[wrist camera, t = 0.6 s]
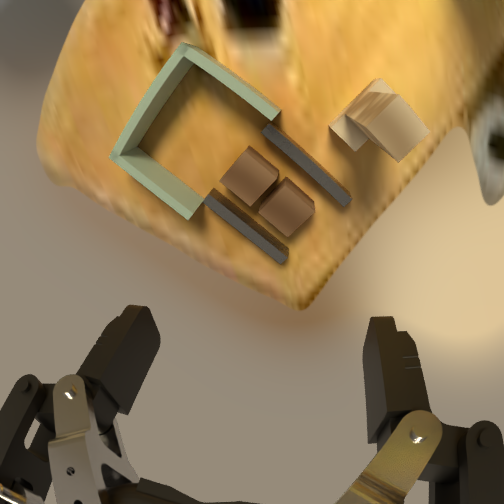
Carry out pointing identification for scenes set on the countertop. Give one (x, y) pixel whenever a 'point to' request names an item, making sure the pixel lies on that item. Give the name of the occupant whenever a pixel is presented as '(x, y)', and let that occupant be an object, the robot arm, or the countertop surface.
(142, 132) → the tray
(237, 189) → the brown block
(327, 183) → the rail slot
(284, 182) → the walnut chip
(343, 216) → the countertop surface
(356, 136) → the birch scraper
